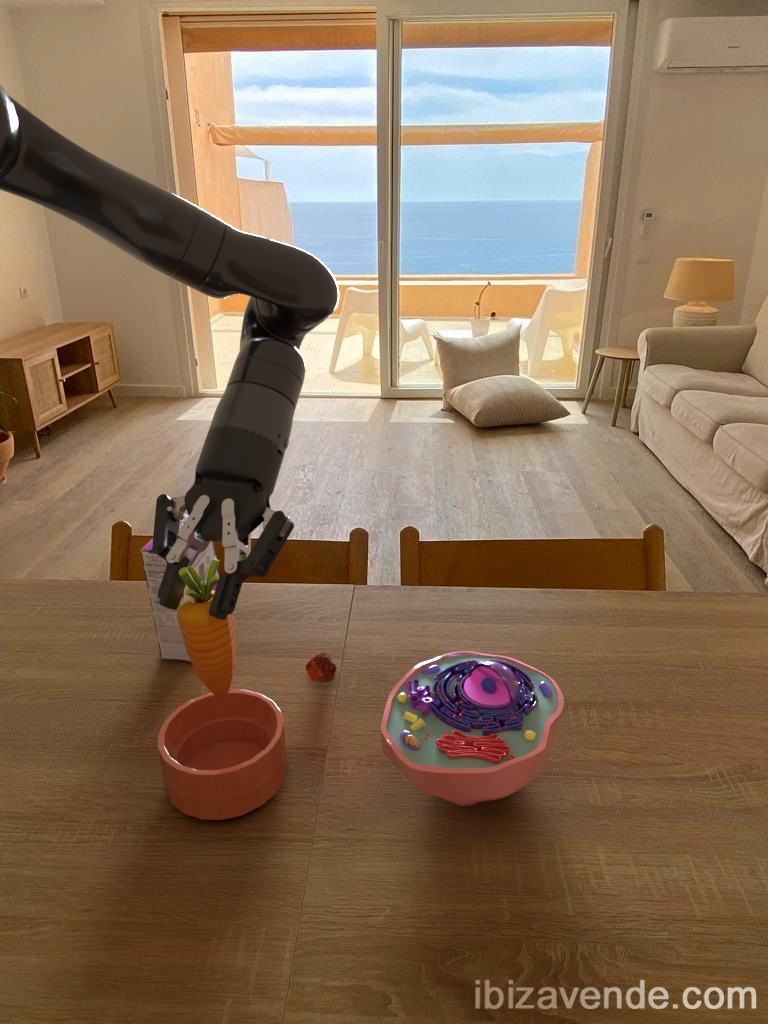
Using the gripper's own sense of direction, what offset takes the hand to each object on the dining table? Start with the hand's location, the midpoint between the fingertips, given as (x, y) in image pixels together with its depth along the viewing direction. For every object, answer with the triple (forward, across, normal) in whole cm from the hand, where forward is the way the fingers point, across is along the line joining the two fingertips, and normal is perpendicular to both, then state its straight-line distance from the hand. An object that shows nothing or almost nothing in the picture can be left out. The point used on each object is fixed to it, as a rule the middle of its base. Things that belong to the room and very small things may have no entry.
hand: (192, 611), depth 62 cm
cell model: (+8, +23, +23) cm, 34 cm away
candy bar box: (-1, -18, +31) cm, 36 cm away
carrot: (+7, 0, +9) cm, 11 cm away
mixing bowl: (+14, 0, +16) cm, 21 cm away
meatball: (+2, +3, +29) cm, 29 cm away
